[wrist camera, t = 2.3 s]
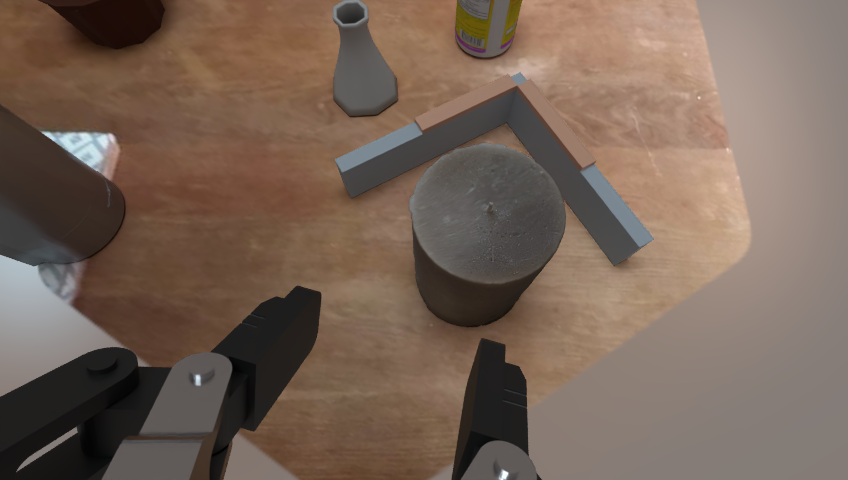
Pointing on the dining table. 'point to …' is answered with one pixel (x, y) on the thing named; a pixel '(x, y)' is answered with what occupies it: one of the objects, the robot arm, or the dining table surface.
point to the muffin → (112, 19)
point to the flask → (360, 65)
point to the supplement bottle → (486, 25)
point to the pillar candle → (482, 231)
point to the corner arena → (537, 133)
